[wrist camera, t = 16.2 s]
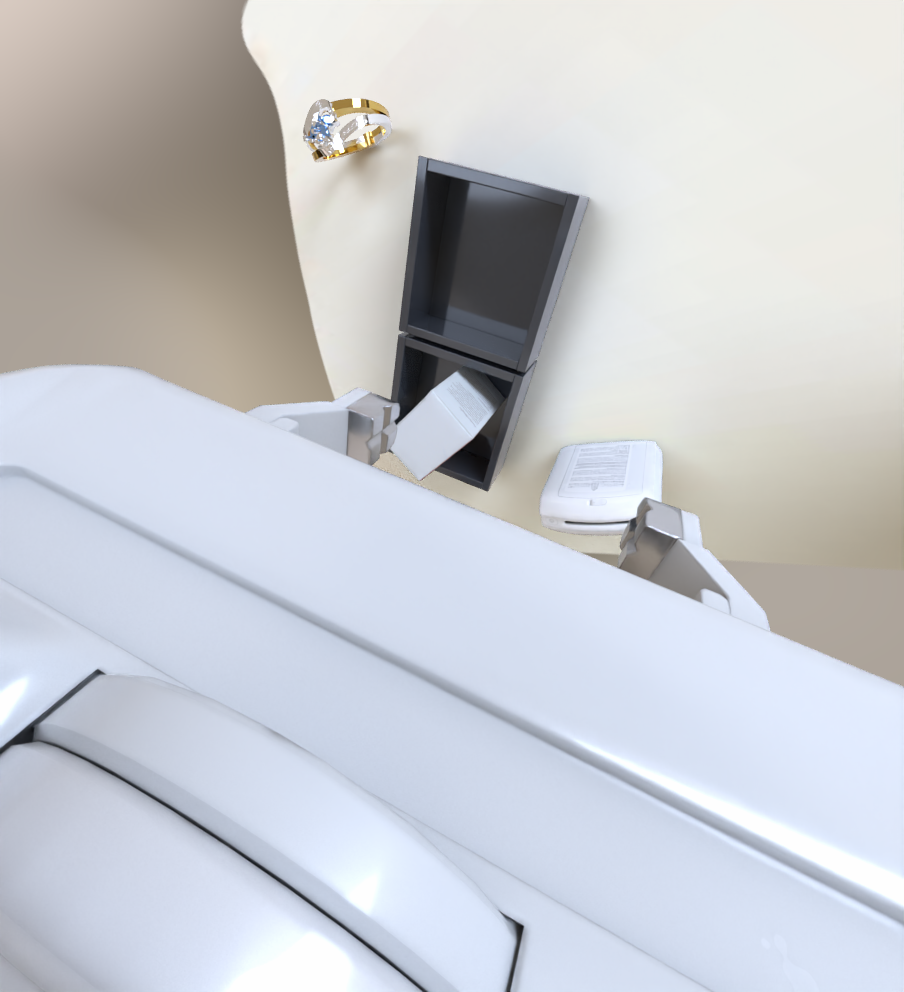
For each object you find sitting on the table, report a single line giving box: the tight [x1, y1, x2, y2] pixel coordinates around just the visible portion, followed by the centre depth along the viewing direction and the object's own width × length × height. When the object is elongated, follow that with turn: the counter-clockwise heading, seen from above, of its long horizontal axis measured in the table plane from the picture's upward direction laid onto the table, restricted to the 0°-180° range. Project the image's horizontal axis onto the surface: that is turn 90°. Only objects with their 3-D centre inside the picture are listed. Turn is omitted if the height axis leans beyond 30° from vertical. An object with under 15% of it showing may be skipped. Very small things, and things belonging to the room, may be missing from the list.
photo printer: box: [539, 440, 663, 536], centre depth 40 cm, size 10×4×12 cm, turn 104°
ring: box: [303, 99, 392, 162], centre depth 35 cm, size 7×3×8 cm, turn 103°
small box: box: [390, 366, 505, 481], centre depth 43 cm, size 8×6×10 cm
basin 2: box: [388, 332, 537, 491], centre depth 46 cm, size 13×13×6 cm
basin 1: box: [399, 156, 590, 373], centre depth 37 cm, size 13×13×6 cm
